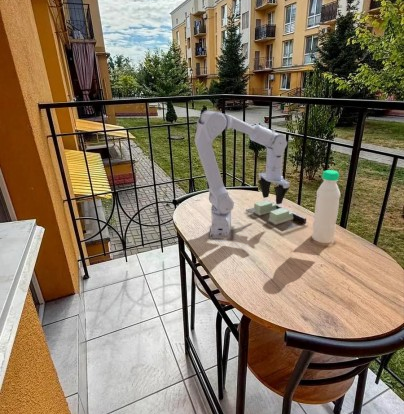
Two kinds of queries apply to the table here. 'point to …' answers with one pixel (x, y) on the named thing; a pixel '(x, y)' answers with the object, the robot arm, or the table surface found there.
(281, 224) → the dark grey tray
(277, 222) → the pale green block
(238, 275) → the table surface
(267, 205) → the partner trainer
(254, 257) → the table surface
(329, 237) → the water bottle
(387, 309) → the table surface
